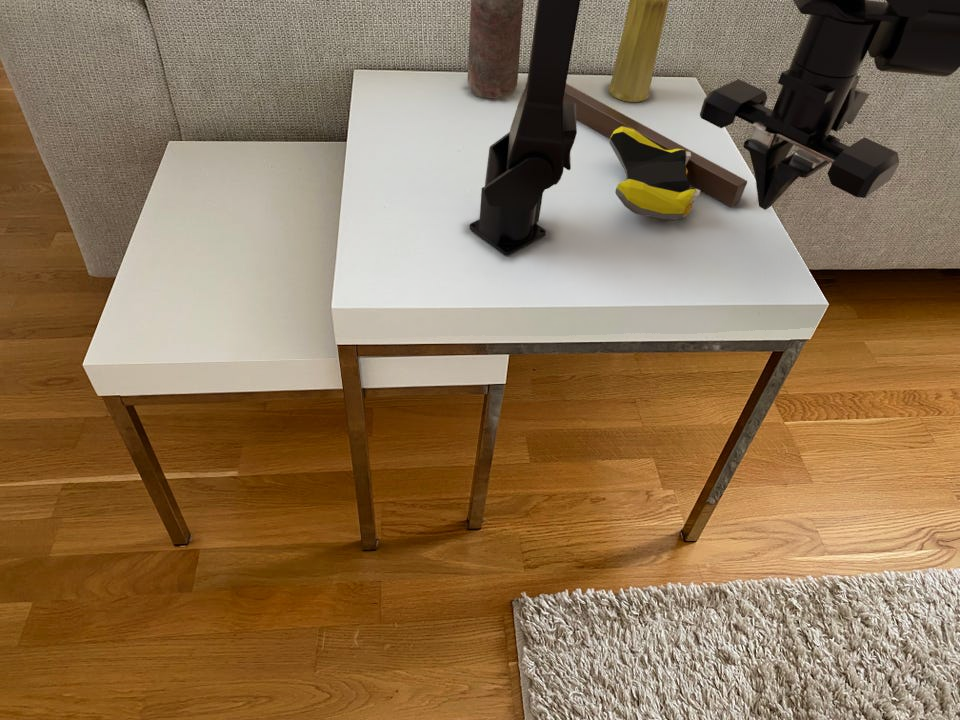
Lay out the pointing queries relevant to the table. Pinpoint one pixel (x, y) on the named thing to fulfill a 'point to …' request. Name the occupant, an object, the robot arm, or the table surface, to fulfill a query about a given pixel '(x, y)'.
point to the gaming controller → (652, 176)
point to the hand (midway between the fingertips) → (764, 207)
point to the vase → (638, 50)
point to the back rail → (699, 168)
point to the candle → (494, 46)
